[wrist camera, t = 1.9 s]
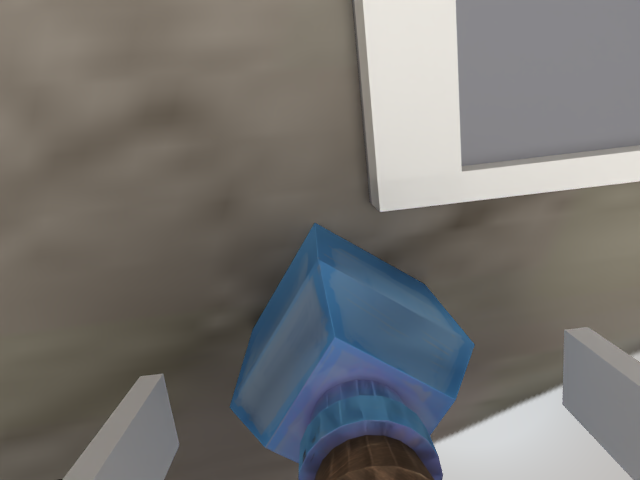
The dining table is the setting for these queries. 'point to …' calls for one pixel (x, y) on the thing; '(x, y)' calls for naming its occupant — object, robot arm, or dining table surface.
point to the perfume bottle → (351, 367)
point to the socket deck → (496, 97)
